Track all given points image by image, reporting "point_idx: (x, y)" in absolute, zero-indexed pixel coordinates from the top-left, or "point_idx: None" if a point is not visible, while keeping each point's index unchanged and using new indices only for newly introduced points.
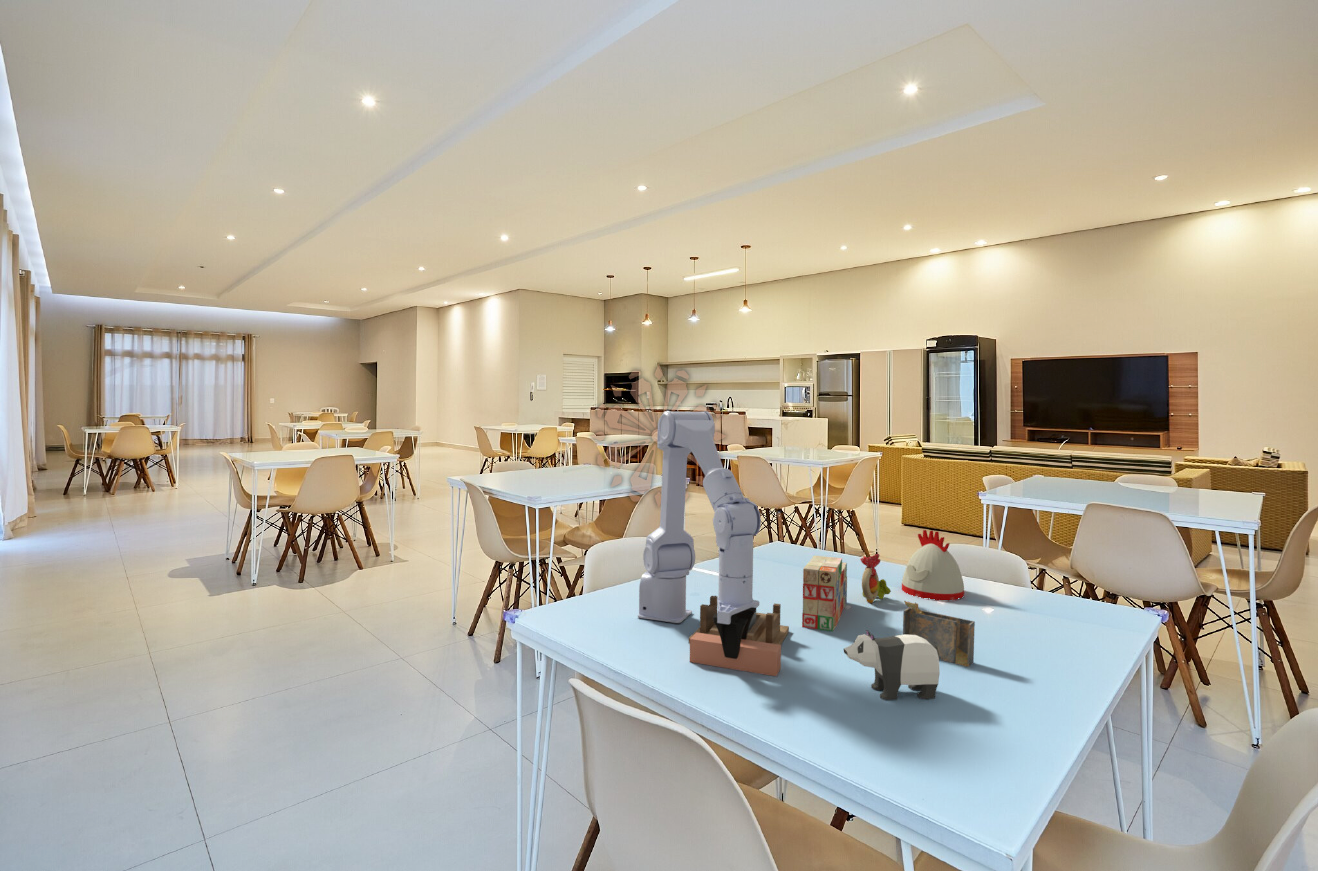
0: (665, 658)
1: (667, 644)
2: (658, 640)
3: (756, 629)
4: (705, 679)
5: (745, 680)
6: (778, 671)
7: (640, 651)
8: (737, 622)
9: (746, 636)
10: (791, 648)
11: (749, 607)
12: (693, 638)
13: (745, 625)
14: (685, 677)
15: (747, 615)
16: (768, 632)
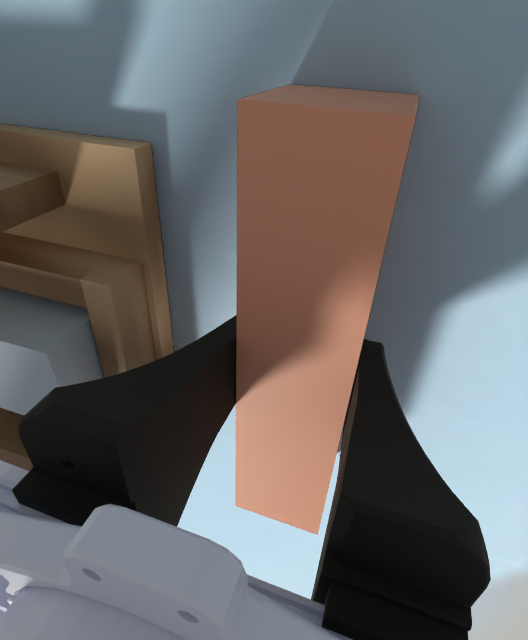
0: (327, 505)
1: (219, 490)
2: (202, 504)
3: (25, 268)
4: (505, 420)
5: (504, 266)
6: (356, 90)
7: (297, 546)
8: (479, 592)
9: (215, 339)
10: (11, 59)
11: (266, 607)
12: (309, 524)
13: (193, 392)
14: (490, 476)
15: (153, 439)
16: (20, 207)
